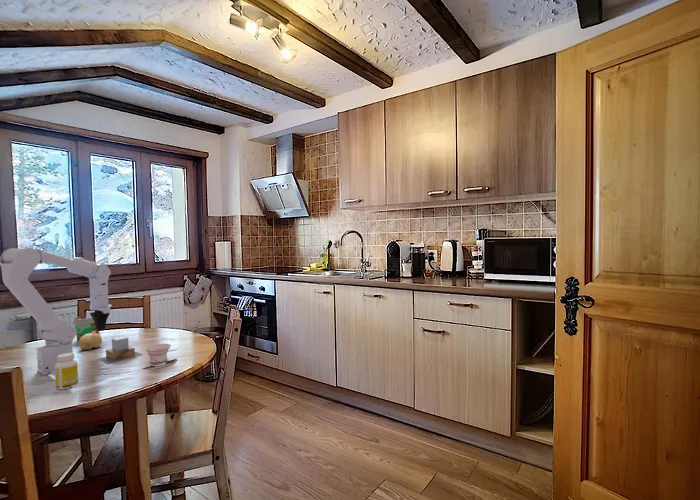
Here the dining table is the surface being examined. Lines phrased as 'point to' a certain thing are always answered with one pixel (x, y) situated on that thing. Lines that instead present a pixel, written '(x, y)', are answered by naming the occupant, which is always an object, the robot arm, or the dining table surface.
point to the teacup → (159, 355)
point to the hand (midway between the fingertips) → (100, 330)
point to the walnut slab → (120, 354)
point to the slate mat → (117, 360)
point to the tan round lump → (90, 341)
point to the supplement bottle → (66, 371)
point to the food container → (84, 326)
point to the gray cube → (120, 343)
